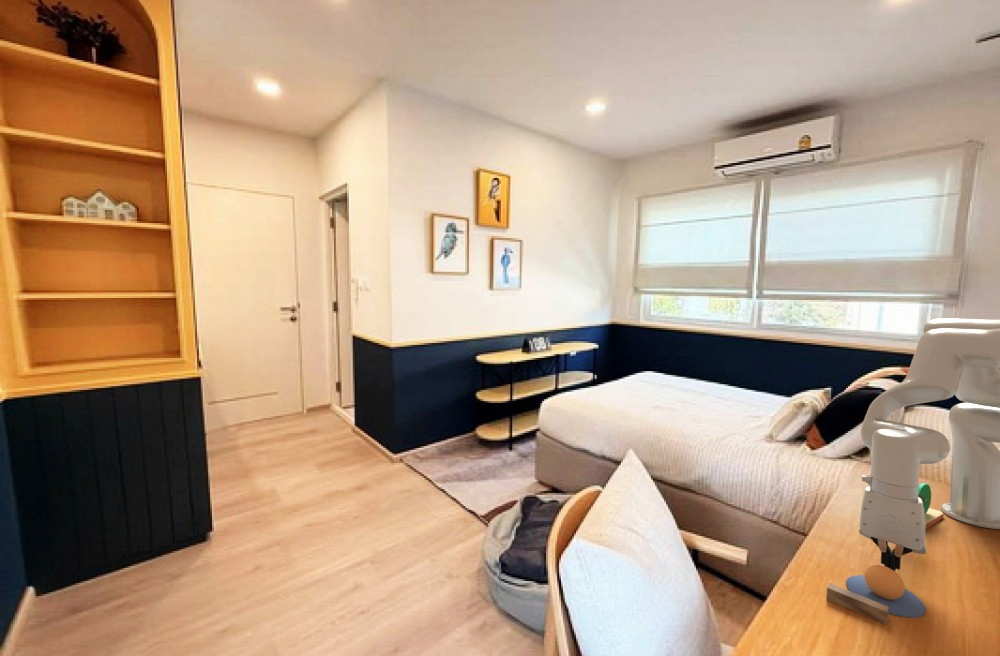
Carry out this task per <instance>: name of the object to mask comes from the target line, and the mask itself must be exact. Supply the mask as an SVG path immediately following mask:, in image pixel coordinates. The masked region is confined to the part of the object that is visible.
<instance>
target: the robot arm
mask: <svg viewBox="0 0 1000 656" xmlns="http://www.w3.org/2000/svg"><path fill="white" fill-rule="evenodd" d="M922 331H923V334H922V335H921V336H920V338H919V340H918V343H917V345H916V348H915V351H914V354H913V357H912V359H911V363H910V366H909V369H908V371H907V374H906V376H905V379H904V381H902V382H900V383H899V384H896V385H894V386H892V387H890V388H888V389H886V390H885V391H884V392H882V393H881V394H879V395H878V396H877V397H876V398H875V399H873V401H872V402H871V403H870V404H869V407H868V409H867V411H866V414H865V416H864V419H863V422H862V426H861V430H860V438H861V442H862V444H863V445H865V447H866V448H868V449H870V450H871V453H870V454H871V455H870V457H871V458H870V459H871V461H870V475H862V476H861V482H864V483H865V484H868V486H867V487H865V489H864V492H863V495H862V501H861V507H860V508H861V509H860V515H859V517H860V518H859V531H858V533H859V535H861V536H863V537H865V538H867V539H870V540H871V541H872V542H873V543H874V544H875V545H876V547H878V549H879V551H880V565H883V566H885V567H888V568H890V569H892V570H893V571H895V572H896V570H898V571H900V570H901V562H902V561H901V560H902V559H901V558H902V557H903V556H904V555H908V554H910V553H914V554H921V555H926V554H927V547H926V546H927V545H926V543H925V542H926V534H927V532H926V531H927V529H926V525H925V513H924V507H923V502H922V500H921V499H920V498H919V497H918V487H919V485H920V484H919V481H920V480H919V479H920V465H931V464H933V465H934V464H937V463H941V462H942V461H943V460H945V459H946V458H947V457H948V456H949V454H950V451H951V471H950V472H951V473H950V490H949V502H945V503H942V504H941V512H942V513H943V514H946V515H947V516H949V517H951V518H953V519H955V520H956V521H957V520H958V521H960V522H963V523H965V524H968V525H973V526H976V527H981V528H986V529H992V530H1000V449H999V448H998V447H997V445H995V443H998V444H1000V319H980V318H978V319H977V318H935V319H931V320H928V321H927V322H926V323H925V324H924V326H923V330H922ZM954 396H955V397H956V398H957V399H958V400H959V401H961V402H960V403H957V404H954V405H953V406H952V407H951V408H950V410H949V413H948V420H949V426H950V432H951V433H950V434H951V443H952V445H950V441H949V439H948V438H947V437H946V436H945V434H943V433H942V432H940V431H938V430H935V429H932V428H928V427H923V426H918V425H912V424H907V423H903V422H899V421H893V420H887V419H888V418H889V417H890V415H892V414H893V413H894V412H896V411H897V410H900V409H903V408H905V407H908V406H914V405H921V404H925V403H930V402H937V401H944V400H948V399H950V398H953V397H954ZM951 446H952V450H950V449H951ZM889 543H891V544H894V545H895V546H894V548H893V549H891V547H890V546H889Z"/></svg>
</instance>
